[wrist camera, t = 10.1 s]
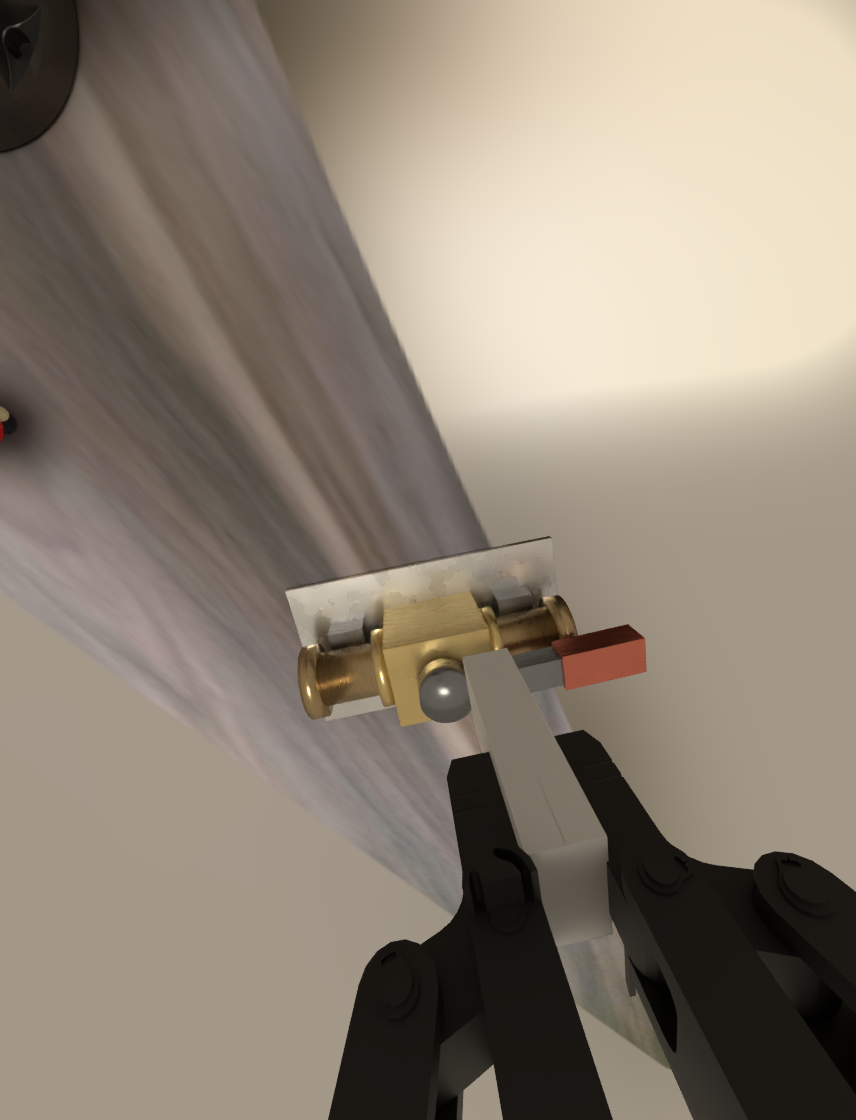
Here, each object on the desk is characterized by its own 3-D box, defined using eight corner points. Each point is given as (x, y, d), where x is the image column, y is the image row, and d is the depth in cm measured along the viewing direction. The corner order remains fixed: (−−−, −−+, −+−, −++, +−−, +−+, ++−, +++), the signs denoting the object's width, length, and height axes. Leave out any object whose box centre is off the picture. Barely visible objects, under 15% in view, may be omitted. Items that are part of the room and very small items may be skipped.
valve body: (326, 717, 42) (313, 782, 34) (286, 588, 37) (260, 630, 30) (561, 667, 42) (599, 720, 35) (549, 536, 38) (589, 563, 30)
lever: (423, 708, 32) (426, 729, 30) (412, 665, 31) (414, 683, 29) (629, 661, 33) (646, 678, 31) (626, 616, 31) (644, 630, 29)
